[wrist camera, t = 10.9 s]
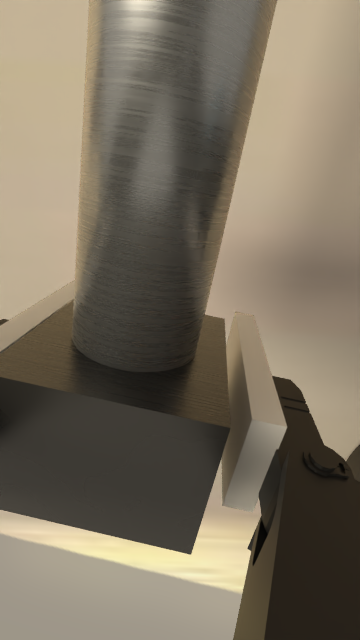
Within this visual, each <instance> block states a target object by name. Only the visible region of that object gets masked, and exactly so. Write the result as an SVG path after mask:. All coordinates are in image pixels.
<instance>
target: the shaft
mask: <svg viewBox="0 0 360 640" xmlns="http://www.w3.org/2000/svg"><path fill="white" fill-rule="evenodd" d="M276 3H277V0H89V16H88V36H87V55H86V74H85V93H84V113H83V132H82V151H81V171H80V190H79V209H78V229H77V248H76V267H75V287H74V300H72V301H71V302H70V303H68V304H67V305H66V306H64V307H63V308H62V309H60V310H59V311H58V312H56V313H55V314H54V315H52V316H51V317H50V318H48V319H47V320H46V321H44V322H43V323H42V324H40V325H39V326H38V327H36V328H35V329H33V330H32V331H31V332H29V333H28V334H27V335H25V336H24V337H23V338H21V339H20V340H19V341H17V342H16V343H15V344H13V345H12V346H11V347H9V348H8V349H7V350H5V351H4V352H3V353H1V354H0V510H4V511H8V512H13V513H17V514H21V515H25V516H30V517H34V518H38V519H42V520H47V521H51V522H55V523H59V524H64V525H68V526H72V527H76V528H81V529H85V530H89V531H93V532H98V533H102V534H106V535H110V536H114V537H119V538H123V539H127V540H131V541H136V542H140V543H144V544H148V545H153V546H157V547H161V548H165V549H170V550H174V551H178V552H182V553H187V554H191V553H192V549H193V546H194V543H195V540H196V537H197V534H198V530H199V527H200V524H201V521H202V518H203V514H204V511H205V508H206V505H207V502H208V499H209V495H210V492H211V489H212V486H213V483H214V480H215V476H216V473H217V470H218V467H219V464H220V460H221V457H222V454H223V451H224V448H225V445H226V441H227V438H228V435H229V432H230V429H231V424H230V407H229V390H228V373H227V356H226V339H225V322H224V319H222V318H218V317H213V316H208V315H205V311H206V307H207V302H208V298H209V294H210V289H211V285H212V281H213V276H214V272H215V268H216V263H217V259H218V255H219V250H220V246H221V242H222V237H223V233H224V229H225V224H226V220H227V216H228V211H229V207H230V203H231V198H232V194H233V190H234V185H235V181H236V177H237V172H238V168H239V164H240V159H241V155H242V151H243V146H244V142H245V138H246V133H247V129H248V125H249V120H250V116H251V112H252V107H253V103H254V99H255V94H256V90H257V86H258V81H259V77H260V73H261V68H262V64H263V60H264V55H265V51H266V47H267V42H268V38H269V34H270V29H271V25H272V21H273V16H274V12H275V8H276Z"/></svg>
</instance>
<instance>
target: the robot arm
mask: <svg viewBox="0 0 360 640" xmlns="http://www.w3.org/2000/svg"><path fill="white" fill-rule="evenodd" d="M74 287H75V280H74V281H72V282H71V283H69V284H67V285H66V286H64V287H62V288H61V289H59V290H58V291H56V292H54V293H53V294H51V295H49V296H48V297H46V298H45V299H43V300H41V301H40V302H38V303H36V304H35V305H33V306H32V307H30V308H28V309H27V310H25V311H23V312H22V313H20V314H18V315H17V316H15V317H14V318H12V319H10V320H6V319H2V320H0V354H1V353H3V352H4V351H5V350H7V349H8V348H9V347H11V346H12V345H13V344H15V343H16V342H17V341H19V340H20V339H21V338H23V337H24V336H25V335H27V334H28V333H29V332H31V331H32V330H33V329H35V328H36V327H38V326H39V325H40V324H42V323H43V322H44V321H46V320H47V319H48V318H50V317H51V316H52V315H54V314H55V313H56V312H58V311H59V310H60V309H62V308H63V307H64V306H66V305H67V304H68V303H70V302H71V301H72V300H74ZM226 356H227V373H228V390H229V407H230V424H231V429H230V432H229V435H228V438H227V441H226V445H225V448H224V451H223V454H222V506H227V507H231V508H235V509H240V510H244V511H248V512H253V510H254V508H255V506H256V503H257V501H258V498H259V500H260V507H261V514H262V516H261V518H260V520H259V523H258V525H257V527H256V530H255V532H254V534H253V537H252V539H251V542H250V544H249V546H248V549H249V550H251V556H250V560H249V565H248V570H247V575H246V580H245V585H244V589H243V594H242V599H241V604H240V609H239V614H238V619H237V624H236V629H235V633H234V638H233V640H360V445H359V446H358V447H357V448H356V449H355V451H354V452H353V453H352V454H351V455H350V457H349V458H348V460H347V462H346V461H345V460H344V459H343V458H342V457H341V456H340V455H338V454H337V453H336V452H335V451H334V450H332V449H330V448H328V447H327V446H325V445H324V444H323V441H322V439H321V437H320V434H319V432H318V430H317V427H316V425H315V423H314V420H313V418H312V415H311V414H310V413H309V412H310V411H309V408H308V406H307V404H305V403H306V401H305V399H304V397H303V394H302V392H301V390H300V389H299V388H298V387H297V386H296V385H295V384H294V383H293V382H292V381H291V380H289V379H284V378H279V377H275V376H272V374H271V371H270V368H269V364H268V361H267V358H266V355H265V351H264V348H263V345H262V341H261V338H260V335H259V331H258V328H257V325H256V321H255V318H254V316H253V315H249V314H244V313H239V312H235V315H234V319H233V323H232V326H231V330H230V334H229V337H228V341H227V345H226Z"/></svg>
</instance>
